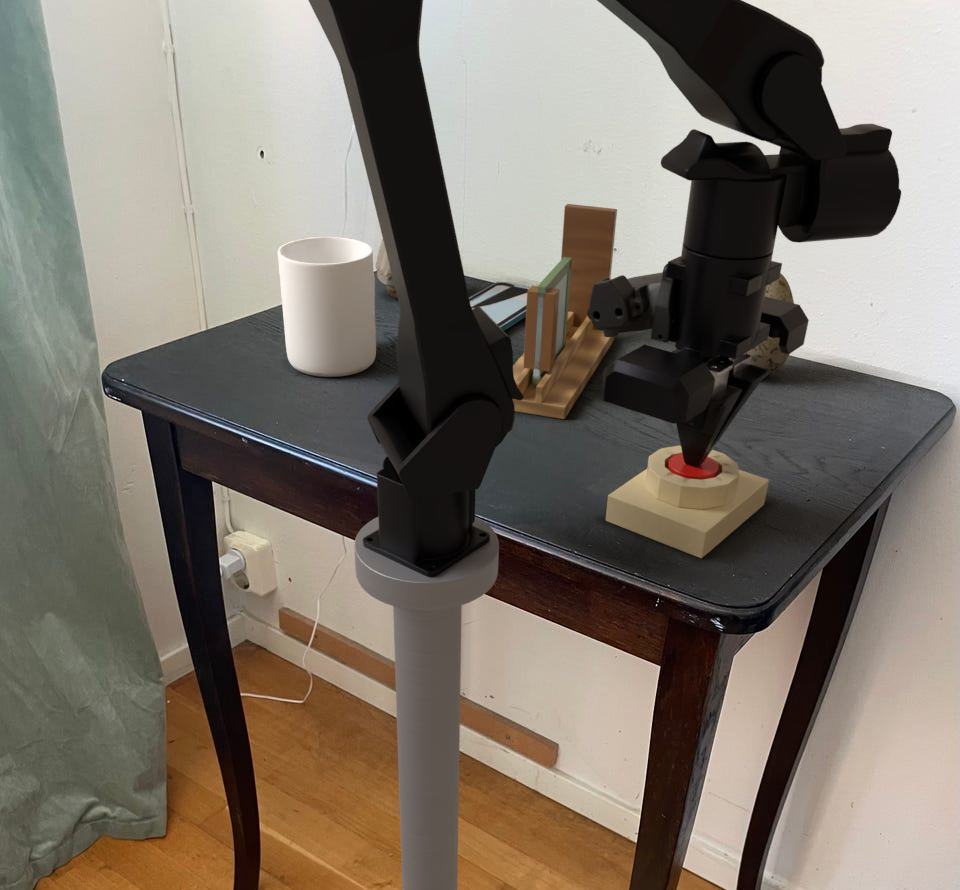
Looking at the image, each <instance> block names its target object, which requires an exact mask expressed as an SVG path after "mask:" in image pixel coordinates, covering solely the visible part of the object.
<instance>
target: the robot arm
mask: <svg viewBox="0 0 960 890" xmlns="http://www.w3.org/2000/svg"><path fill="white" fill-rule="evenodd" d="M596 1H597V2H598V3H599V4H601V6H603V7H604V8H605V9H606V10H608V11H609V12H610V13H612V14H613V15H614V16H615V17H617V18H618V19H619V20H621V22H622V23H624V24H625V25H626V26H627V27H629V28H630V29H631V30H632V31H633V32H635V33H636V34H637V35H638V36H640V37H641V38H642V39H643V40H645V42H646V43H647V44H648V45H649V46H650V48H651V49H652V50H653V51H654V52H655V54H656V55H657V56H658V58H659V60H660V62H661V64H662V65H663V68H664V69H665V71H666V73H667V76H668V77H669V79H670V80H671V82H672V83H673V84H674V85H675V86H676V88H677V90H679V92H680V93H681V94H682V95H683V96H684V97H685V100H687V101H688V102H689V104H690V105H691V106H692V107H693V109H694V110H695V111H696V113H697V114H698V115H700V116H701V117H702V118H704V119H706V120H708V121H710V122H712V123H714V124H718V125H720V126H722V127H725V128H726V129H727V128H728V129H730V130H733V131H734V132H735V131H736V132H738V133H740V134H744V135H746V136H749V137H750V138H751V137H752V138H754V139H756V140H759V141H762V142H767V143H769V144H772V145H775V146H777V147H780V148H779V151H778V152H779V153H778V154H764V152H763V151H762V149H761V148H760V147H759V146H758V145H757V144H755V143H753V142H750V141H734V142H733V141H731V142H715V140H714V138H713V136H712V135H710V134H707V133H705V132H703V131H700V130H698V129H695V128H693V129H691V130H690V131H689V132H688V134H687V135H686V137H685V138H684V139H683V140H682V141H681V142H679V144H677V145H676V146H674V147H673V148H672V149H670V150H669V151H668V152H667V153H666V154H665V155H664V156H662V157H661V160H660V166H661V168H663V169H664V170H666V171H669V172H670V173H672V174H674V175H677V176H679V177H680V178H683V179H685V180H687V181H690V187H689V195H688V203H687V211H686V218H685V226H684V233H683V234H684V235H683V240H682V241H683V242H682V247H681V255H679V256H677V257H676V258H673V259H671V260H669V261H667V263H666V264H665V265H664V266H663V269H662V272H656V273H649V274H644V275H637V276H633V277H629V278H627V277H626V275H623V274H621V275H618V276H616V277H614V278H611V279H610V278H605V279H603V280H600V281H598V282H596V283H593V288H592V293H591V296H590V303H589V309H588V311H587V315H588V318H589V319H590V320H592V324H593V325H594V326H595V327H596V328H597V329H598V330H603V332H604V336H605V337H617V336H618V335H619V334H625V333H632V332H639V331H641V332H642V331H648V330H651V335H650V339H651V340H655V341H658V342H662V343H665V344H667V343H668V342H671V343H675V344H674V347H675V349H673V350H672V351H668V350H665V349H662V348H658V347H656V346H655V347H654V346H651V345H648V344H642V345H641V346H639V347H638V348H635V349H634V350H632V351H630V352H627V353H626V354H624V355H622V356H620V357H619V358H617V359H615V360H613V362H611V363H610V364H608V365H607V366H606V367H604V368H603V373H602V383H601V392H600V393H601V395H600V396H601V398H602V400H603V402H605V403H609V404H612V405H614V406H617V407H621V408H625V409H627V410H631V411H634V412H637V413H640V414H643V415H646V416H649V417H651V418H655V419H658V420H661V421H663V422H667V423H671V424H676V429H677V434H678V438H679V442H680V443H679V445H681V449H682V454H683V459H684V462H685V464H687V465H690V466H692V467H698V466H700V465H701V464H702V463H703V462H704V461H705V459H706V458H707V456H708V455H709V453H710V452H711V451H712V450H714V448H715V446H716V445H717V443H718V442H719V440H720V439H721V438H722V436H723V435H724V433H725V432H726V431H727V429H728V427H729V426H730V424H731V423H732V422H733V420H735V418H736V416H737V415H738V413H739V412H740V410H742V408H743V407H744V405H745V404H746V402H747V401H748V400H749V399H750V397H751V396H752V394H753V393H754V391H755V390H756V389H757V387H758V386H759V385H760V384H761V382H762V381H763V380H764V379H765V378H766V377H767V376H768V375H767V370H766V369H764V368H761V367H758V366H754V365H751V364H750V358H751V355H748V354H746V352H748V351H749V350H751V349H753V348H754V347H756V346H757V345H759V344H761V343H762V342H764V341H766V340H767V339H768V337H772V338H780V340H779V348H780V351H781V352H782V353H785V354H789V355H791V353H794V352H795V351H797V350H798V349H799V348H801V347H802V346H804V344H805V341H806V340H805V339H806V335H807V331H808V327H809V326H808V325H809V321H810V320H809V318H808V316H807V315H806V313H805V312H804V310H803V308H802V306H801V304H798V303H795V302H794V303H790V302H786V301H782V300H778V299H773V298H769V297H765V293H766V288H767V285H769V284H770V283H772V282H774V281H776V280H778V279H779V277H780V273H781V272H782V267H783V263H782V262H779V261H774V260H773V254H774V250H775V249H774V248H775V244H776V239H777V234H778V229H779V230H780V232H781V234H782V235H783V236H784V237H785V238H786V239H787V240H788V241H789V242H792V243H812V242H823V241H835V240H848V239H858V238H860V239H861V238H872V237H875V236H878V235H880V234H881V233H882V232H884V231H885V230H886V229H887V228H888V227H889V225H890V224H891V223H892V221H893V220H894V217H895V215H896V214H897V211H898V208H899V206H900V201H901V197H902V190H901V188H900V175H899V168H898V164H897V162H896V158H895V157H894V155H893V153H892V152H891V150H890V149H889V148H890V144H891V140H892V136H893V131H892V129H891V128H888V127H885V126H882V125H878V124H875V123H859V124H855V125H851V126H849V127H843V128H841V127H839V124H838V122H837V119H836V116H835V114H834V112H833V109H832V107H831V104H830V101H829V99H828V97H827V94H826V91H825V89H824V86H823V84H822V83H823V67H824V66H825V57H824V55H823V51H822V49H821V48H820V47H819V45H818V44H817V42H816V41H815V40H814V38H813V37H812V36H810V35H809V34H807V33H806V32H804V31H803V30H801V29H799V28H797V27H795V26H794V25H791V24H790V23H787V21H784V20H783V19H781V18H780V17H777V16H775V15H774V14H772V13H770V12H768V11H766V10H764V9H762V8H759V7H757V6H755V5H753V4H751V3H749V2H747V1H744V0H596ZM308 3H309V5H310V6H311V8H312V11H313V12H314V15H315V16H316V19H317V21H318V23H319V24H320V26H321V28H322V29H321V30H323V32H324V35H325V37H326V39H327V41H328V43H329V45H330V46H331V49H332V51H333V53H334V55H335V57H336V60H337V62H338V65H339V68H340V71H341V75H342V76H341V77H342V80H343V85H344V88H345V91H346V96H347V100H348V104H349V108H350V111H351V115H352V120H353V125H354V128H355V132H356V137H357V140H358V144H359V148H360V152H361V156H362V161H363V164H364V168H365V172H366V177H367V180H368V184H369V189H370V192H371V196H372V201H373V204H374V208H375V212H376V217H377V220H378V224H379V228H380V232H381V236H382V239H383V241H384V245H385V249H386V253H387V257H388V261H389V265H390V269H391V273H392V277H393V281H394V285H395V289H396V293H397V297H398V299H397V300H398V305H399V307H398V308H399V316H398V317H399V320H398V328H397V338H396V357H397V359H396V360H397V372H398V381H397V383H396V384H395V385H394V386H393V387H392V388H391V389H390V390H389V391H388V392H387V394H386V395H384V396H383V398H382V399H381V400H380V401H379V402H378V403H377V404H376V405H375V407H373V408H372V410H371V411H370V412H369V413H368V414H367V422H368V424H369V426H370V429H371V431H372V433H373V435H374V437H375V440H376V441H377V443H378V444H379V445H380V446H381V448H382V449H383V451H384V454H385V455H386V456H385V458H384V459H383V462H382V469H380V470H378V471H377V472H376V489H377V491H376V493H377V515H378V516H377V517H378V519H379V529H378V530H376V531H375V532H373V533H371V534H369V535H368V536H366V537H364V538H363V546H364V547H365V548H367V549H369V550H372V551H374V552H376V553H378V554H380V555H382V556H384V557H386V558H388V559H390V560H393V561H395V562H397V563H399V564H401V565H403V566H405V567H407V568H409V569H411V570H414V571H416V572H418V573H420V574H422V575H424V576H426V577H436V576H438V575H439V574H441V573H442V572H444V571H445V570H447V569H448V568H450V567H451V566H453V565H454V564H456V563H458V562H459V561H461V560H462V559H464V558H465V557H467V556H468V555H470V554H471V553H473V552H474V551H476V550H477V549H479V548H480V547H482V546H484V545H485V544H487V543H488V542H489V541H490V534H489V533H488V532H486V531H484V530H481V529H479V528H477V527H474V526H473V523H474V521H475V517H476V490H478V489H480V488H481V484H482V483H483V480H484V478H485V475H486V473H487V470H488V467H489V465H490V462H491V461H492V458H493V455H494V452H495V449H497V447H498V446H499V445H500V444H502V442H503V441H504V440H505V438H506V436H507V435H508V433H510V432H511V431H512V430H513V428H514V424H515V420H516V415H515V414H516V411H515V406H514V403H513V399H516V400H522V399H523V395H522V393H521V392H520V390H519V389H518V387H517V385H516V382H515V379H514V375H513V366H514V352H513V344H512V339H511V337H510V336H509V335H508V333H506V332H505V331H503V330H502V329H501V328H500V327H499V326H498V325H497V324H496V323H495V322H494V321H493V320H492V319H491V318H490V317H489V316H488V315H487V314H486V313H485V312H484V311H483V310H482V309H481V308H480V307H479V306H478V307H476V308H474V309H472V308H471V305H470V301H469V298H470V296H469V292H468V286H467V281H466V277H465V272H464V267H463V263H462V257H461V252H460V247H459V242H458V238H457V233H456V227H455V223H454V218H453V213H452V208H451V203H450V199H449V194H448V189H447V184H446V178H445V174H444V169H443V164H442V159H441V154H440V150H439V149H440V148H439V145H438V140H437V134H436V129H435V124H434V119H433V115H432V110H431V105H430V99H429V95H428V91H427V84H426V80H425V76H424V70H423V66H422V61H421V55H420V54H421V53H420V37H421V25H422V15H423V4H424V0H308ZM766 375H767V376H766Z"/></svg>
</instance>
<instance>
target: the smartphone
mask: <svg viewBox="0 0 960 890" xmlns="http://www.w3.org/2000/svg"><path fill="white" fill-rule="evenodd" d="M530 287H531V286H525V285H521V284H516V283H511V282H506V281H497V282H494V283H493V284H491V285H488V286H487V287H485V288H484V289H482V290H480V291H479V292H476V293H474V294H473V295H471V296H469V301H470V305H471V308H472V309H474V308H476V307H478V306H479V307H480V308H481V309H482V310H483V311H484V312H485V313H486V314H487V315H488V316H489V317H490V318H491V319H492V320H493V321H494V322H495V323H496V324H497V325H498V326H499V327H500V328H501V329H502V330H503V331H504V332H505V331H506V330H508V329H509V328H511V327H512V326H514V325H516V324H518V322H520V321H521V320H523V319H526V307H527V291H528V290H529V289H530Z"/></svg>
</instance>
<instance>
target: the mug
mask: <svg viewBox="0 0 960 890" xmlns="http://www.w3.org/2000/svg"><path fill="white" fill-rule="evenodd" d="M373 253H374V250H373V248H372V246H371V245H370V244H368V243H367V242H364V241H361V240H358V239H353V238H348V237H338V236H315V237H307V238H300V239H295V240H292V241H289V242H286V243H284V244H282V245H281V246H280V247H278V249H277V261H278V272H279V274H278V275H279V284H280V296H281V306H282V317H283V329H284V339H285V341H284V342H285V348H286V349H285V351H286V356H287V360H288V362H289V364H290V366H291V367H292V368H294V369H295V370H296V371H298V372H300V373H303V374H306V375H309V376H314V377H322V378H337V377H347V376H351V375H355V374H359V373H361V372H364V371H365V370H367V369H368V368H370V367H371V366H372V365H373V364H374V362H375V361H376V357H377V356H376V355H377V334H376V333H377V329H376V306H375V305H376V303H375V301H376V299H375V298H376V279H375V277H376V276H375V271H374V254H373Z"/></svg>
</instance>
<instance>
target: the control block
mask: <svg viewBox="0 0 960 890" xmlns="http://www.w3.org/2000/svg"><path fill="white" fill-rule="evenodd" d="M678 454H682V449H681V444H679V445H674V446H673V445H672V446H668V447H667V446H666V447H662V448H659V449H658V450H656V451H654V452H653V453H652V454H649V456H648V459H647V468H645V469H644V470H643V471H641V472H640V473H638V474H637V475H635V476H634V477H632V478H631V479H629V480H628V481H626V482H625V483H624V484H623V485H620V486H619V487H617V488H616V489H615V490H614V491H612V492H611V493H609V494H608V495H607V503H606V511H605V512H606V513H605V522H608V523H610V524H612V525H615V526H618V527H619V528H622V529H626V530H628V531H630V532H633V533H636V534H637V535H641V536H643V537H646V538H648V539H650V540H653V541H656V542H658V543H660V544H664V545H666V546H668V547H670V548H674V549H676V550H679V551H681V552H684V553H686V554H688V555H691V556H694V557H697V558H699V559H703V558H704V557H705V556H707V555H708V554H709V553H710V552H711V551H712V550H714V549H715V547H717V546H718V545H719V544H720V543H722V542H723V541H724V540H725V539H726V538H727V537H728V536H730V535H731V534H733V532H734V531H735V530H736V529H738V528H739V527H740V526H741V525H742V524H744V523H745V522H746V521H747V520H748V519H749V518H750V517H752V515H754V514H755V513H757V512H758V511H759V510H760V509H761V508H762V507H763V506H764V505H765V503H766V497H767V492H768V487H769V483H770V479H769V478H765V477H762V476H759V475H757V474H753V473H750V472H747V471H744V470H741V469H740V468H739V464H738V463H737V462H736V461H735V460H734V459H733V458H731V457H729V456H728V455H727V454H726V453H723V452H722V451H717V450H714V449H712V451H711V452H710V453H709V455H708V456H707V457H709V458H711V459H713V460H714V461H715V462H716V463H717V464H718V467H719V469H718V475H717V476H716V477H715V478H709V479H704V480H699V479H687V478H684V477H681V476H678V475H676V474H673V473H672V472H670V471H669V470H668V464H669V460H670V459H671V458H672V457H673V456H675V455H678Z"/></svg>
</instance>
